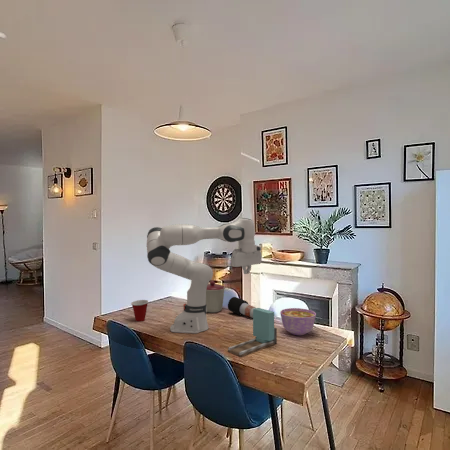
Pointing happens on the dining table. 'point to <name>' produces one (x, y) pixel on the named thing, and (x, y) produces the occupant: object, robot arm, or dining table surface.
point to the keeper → (263, 325)
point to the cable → (240, 307)
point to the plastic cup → (140, 309)
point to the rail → (251, 346)
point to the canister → (214, 297)
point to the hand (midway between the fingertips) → (246, 273)
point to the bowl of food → (298, 320)
